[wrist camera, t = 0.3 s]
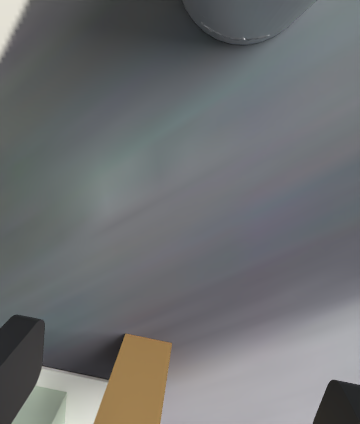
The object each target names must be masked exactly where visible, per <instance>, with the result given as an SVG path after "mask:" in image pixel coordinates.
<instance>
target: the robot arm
mask: <svg viewBox="0 0 360 424" xmlns="http://www.w3.org/2000/svg"><path fill="white" fill-rule="evenodd" d="M182 1H183V4H184V6H185V9H186V10H187V12H188V13H189V15H190V16H191V18H192V19H193V21H194V22H195V23H196V24H197V25H198V26H199V27H200V28H201V29H202V30H203V31H204V32H205V33H207V34H209V35H210V36H212V37H214V38H215V39H217V40H220V41H223V42H226V43H230V44H239V45H248V44H254V43H259V42H262V41H265V40H267V39H270V38H272V37H274V36H276V35H277V34H279V33H280V32H282V31H283V30H285V29H286V28H288V27H289V26H290V25H291V24H292V23H293V22H294V21H295V20H296V19H297V18H298V17H299V16H300V15H301V14H303V13H304V12H305V11H306V10H307V9H308V8H309V7H311V6H312V5H313V4H314V3H315V2H316V1H317V0H182ZM44 331H45V323H44V321H43V320H41V319H37V318H32V317H27V316H22V315H14V316H12V317H11V318H10V319H9V320H8V321H7V322H6V323H5V324H4V325H3V326H2V327H1V328H0V424H11V423H12V422H13V420H14V419H15V417H16V416H17V414H18V413H19V411H20V409H21V408H22V406H23V405H24V403H25V402H26V400H27V398H28V397H29V395H30V394H31V392H32V391H33V389H34V387H35V385H36V383H37V381H38V378H39V376H40V372H41V369H42V362H43V346H44ZM313 424H360V385H357V384H352V383H347V382H342V381H337V380H331V381H330V382H329V384H328V386H327V388H326V391H325V393H324V396H323V398H322V401H321V403H320V406H319V408H318V411H317V413H316V416H315V418H314V421H313Z"/></svg>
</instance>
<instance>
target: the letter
mask: <svg viewBox="0 0 360 424" xmlns="http://www.w3.org/2000/svg"><path fill="white" fill-rule="evenodd" d="M108 381H109V380H106V379H101V378H97V377H92V376H87V375H82V374H77V373H73V372H68V371H63V370H58V369H53V368H49V367H44V366H42V369H41V372H40V376H39V378H38V381H37V383H36V385H35V386H39V387H44V388H49V389H54V390H58V391H63V392H67V398H66V412H65V424H93V423H94V421H95V418H96V415H97V412H98V409H99V407H100V404H101V401H102V398H103V395H104V393H105V390H106V387H107V384H108Z"/></svg>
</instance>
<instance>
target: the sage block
mask: <svg viewBox="0 0 360 424" xmlns="http://www.w3.org/2000/svg"><path fill="white" fill-rule="evenodd" d="M66 398H67V392H63V391H58V390H54V389H49V388H44V387H39V386H35V387H34V389H33V391H32V392H31V394H30V395H29V397H28V398H27V400H26V402H25V403H24V405H23V406H22V408H21V409H20V411H19V413H18V414H17V416H16V417H15V419H14V420H13V422H12V423H11V424H65V412H66Z"/></svg>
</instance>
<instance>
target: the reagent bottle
mask: <svg viewBox="0 0 360 424" xmlns="http://www.w3.org/2000/svg"><path fill="white" fill-rule="evenodd" d="M171 346H172V343H169V342H164V341H159V340H154V339H150V338H145V337H140V336H135V335H130V334H125V336H124V339H123V342H122V345H121V348H120V351H119V353H118V356H117V359H116V362H115V365H114V367H113V370H112V373H111V376H110V379H109V381H108V384H107V387H106V390H105V393H104V395H103V398H102V401H101V404H100V407H99V409H98V412H97V415H96V418H95V421H94V423H93V424H160V420H161V414H162V407H163V400H164V393H165V387H166V380H167V373H168V366H169V360H170V353H171Z"/></svg>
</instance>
